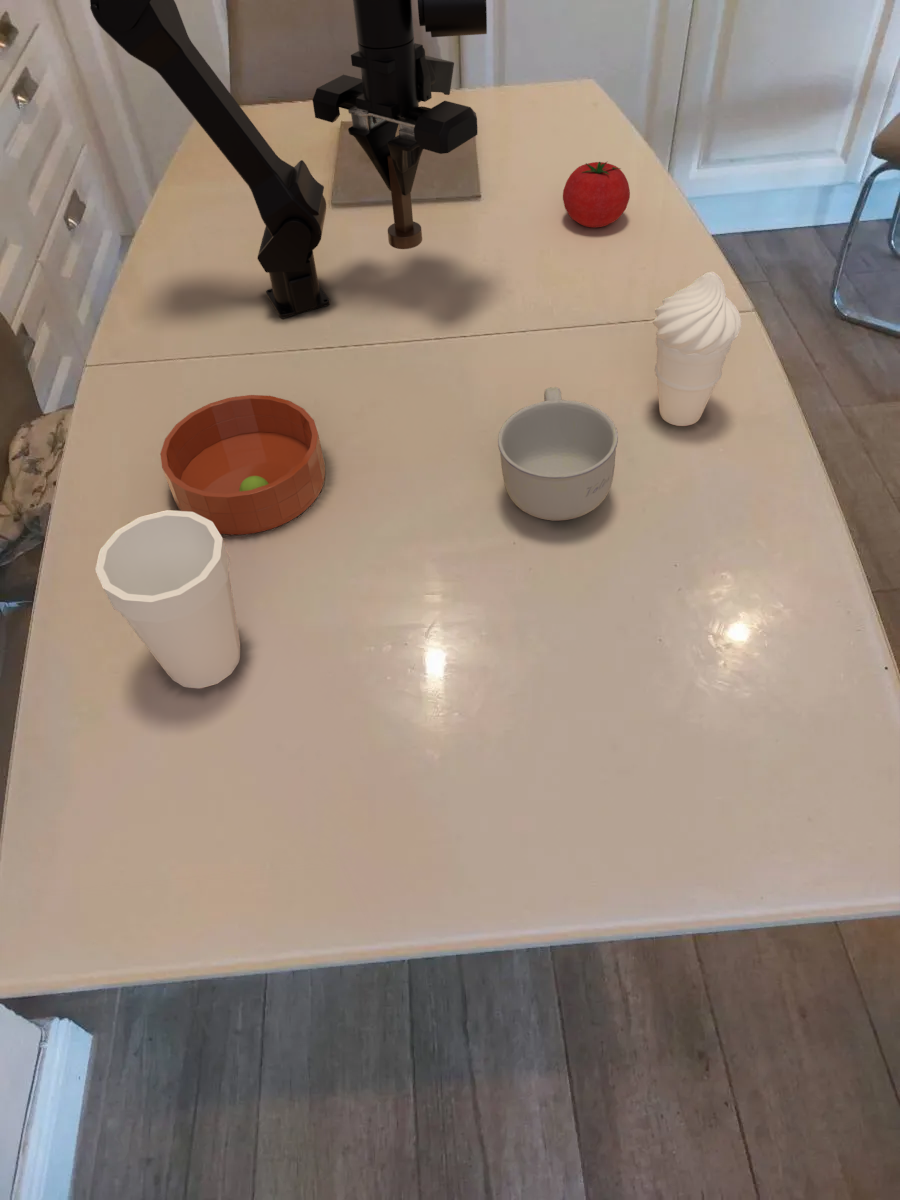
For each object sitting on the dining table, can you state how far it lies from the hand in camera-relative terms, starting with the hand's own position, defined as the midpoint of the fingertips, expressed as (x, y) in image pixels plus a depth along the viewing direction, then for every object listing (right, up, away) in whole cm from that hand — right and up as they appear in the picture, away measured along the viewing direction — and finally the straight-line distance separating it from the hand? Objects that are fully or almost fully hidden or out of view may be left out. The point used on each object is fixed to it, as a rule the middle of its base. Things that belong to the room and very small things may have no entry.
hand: (400, 191), depth 104 cm
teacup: (+16, -36, -14) cm, 41 cm away
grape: (-13, -36, -15) cm, 41 cm away
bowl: (-15, -34, -11) cm, 39 cm away
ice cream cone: (+30, -27, -7) cm, 41 cm away
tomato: (+25, +5, +20) cm, 32 cm away
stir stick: (0, -4, +5) cm, 6 cm away
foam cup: (-15, -52, -26) cm, 60 cm away
